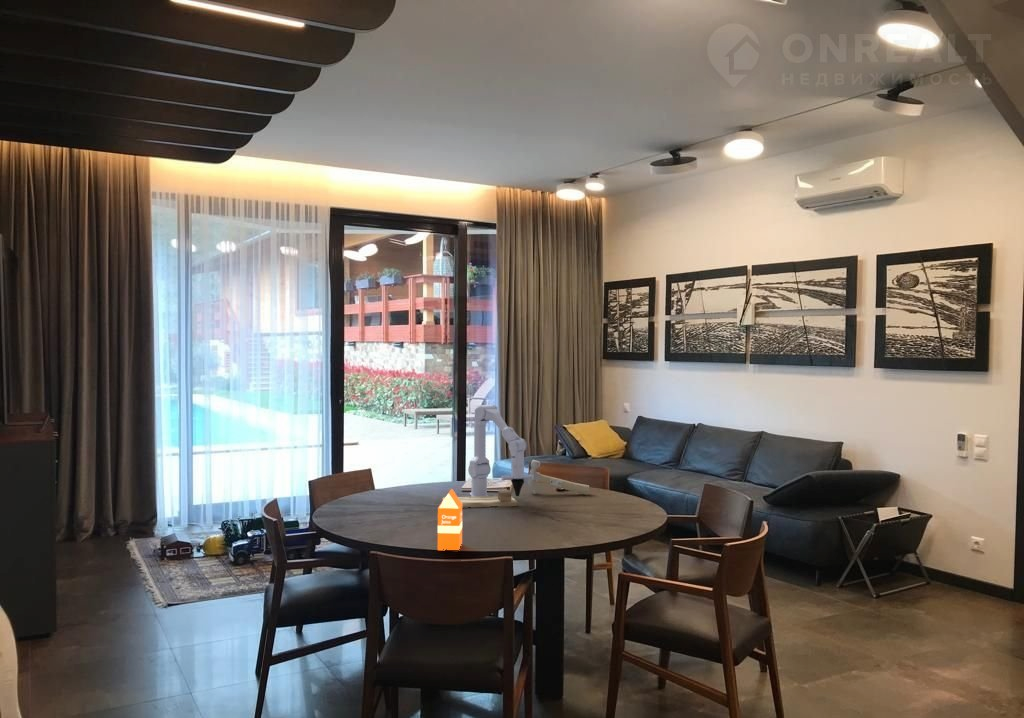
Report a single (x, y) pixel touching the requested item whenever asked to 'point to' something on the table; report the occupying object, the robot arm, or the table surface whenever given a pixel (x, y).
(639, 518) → the table surface
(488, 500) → the board
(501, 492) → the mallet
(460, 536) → the orange juice
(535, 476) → the hammer
